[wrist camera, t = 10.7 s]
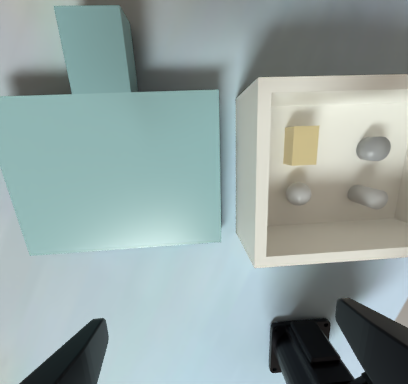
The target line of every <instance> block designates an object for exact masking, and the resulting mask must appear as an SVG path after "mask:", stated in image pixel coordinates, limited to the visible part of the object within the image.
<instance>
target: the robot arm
mask: <svg viewBox="0 0 408 384" xmlns="http://www.w3.org/2000/svg"><path fill="white" fill-rule="evenodd" d="M335 317H336V321H337V323H338V325H339V327H340V329H341V331H342V332H343V334H344V336H345V338H346V339H347V341H348V343H349V345H350V346H351V348H352V350H353V352H354V354H355V355H356V357H357V359H358V360H359V362H360V364H361V365H362V367H363V369H364V370H365V372H364V373H362V374H361V376H360V377H358V378H356V379H354V377H353V376H352V374H351V373H350V372H349V370H348V369H347V367H346V366H345V364H344V363H343V362H342V360H341V359H340V356H339V354H338V353H337V351H336V350H335V349H334V347H333V346H332V344H331V343H330V341H329V333H330V322H329V321H328V320H327V319H326V318H322V319H311V320H300V321H288V322H277V323H273V324H272V325H271V330H270V353H269V368H270V371H271V372H272V373H279V372H282V374H283V376H284V379H285V381H286V384H408V328H407V327H405V326H403V325H401V324H399V323H397V322H395V321H393V320H391V319H390V318H388V317H386V316H384V315H382V314H380V313H378V312H376V311H374V310H372V309H370V308H368V307H366V306H364V305H362V304H360V303H358V302H356V301H354V300H352V299H350V298H340V299H338V301H337V306H336V314H335ZM107 344H108V330H107V325H106V320H105V319H104V318H99V319H93V320H91V321H90V322H89V323H88V324H87V325H86V326H84V327H83V328H82V329H81V330H80V331H79V332H78V333H77V334H75V335H74V336H73V337H72V338H71V339H70V340H69V341H67V342H66V343H65V344H64V345H63V346H62V347H61V348H59V349H58V350H57V351H56V352H55V353H54V354H53V355H51V356H50V357H49V358H48V359H47V360H46V361H45V362H43V363H42V364H41V365H40V366H39V367H38V368H37V369H35V370H34V371H33V372H32V373H31V374H30V375H29V376H27V377H26V378H25V379H24V380H23V381H22V382H21V383H20V384H97V382H98V378H99V374H100V371H101V367H102V363H103V359H104V356H105V352H106V348H107Z"/></svg>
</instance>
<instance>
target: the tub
mask: <svg viewBox="0 0 408 384" xmlns="http://www.w3.org/2000/svg"><path fill="white" fill-rule="evenodd" d="M236 233H237V235H238V237H239V239H240V241H241V243H242V245H243V247H244V249H245V251H246V253H247V255H248V257H249V259H250V261H251V262H252V264H253V266H254V268H264V267H278V266H292V265H306V264H319V263H333V262H347V261H361V260H375V259H388V258H402V257H408V74H390V75H343V76H297V77H258V78H257V79H256V80H255V81H254V82H253V83H252V84H251V85H250V86H249V87H248V88H247V89H245V90H244V91H243V92H242V93H241V94H240V95H239V96H238V97H237V98H236Z"/></svg>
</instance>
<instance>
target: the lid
mask: <svg viewBox="0 0 408 384" xmlns="http://www.w3.org/2000/svg"><path fill="white" fill-rule="evenodd" d="M54 10H55V15H56V20H57V25H58V29H59V34H60V39H61V44H62V49H63V53H64V58H65V63H66V68H67V73H68V77H69V82H70V87H71V92H72V94H61V95H30V96H0V167H1V170H2V173H3V176H4V179H5V182H6V185H7V188H8V191H9V194H10V197H11V200H12V203H13V206H14V209H15V212H16V215H17V218H18V221H19V224H20V227H21V230H22V233H23V236H24V239H25V242H26V245H27V248H28V251H29V254H30V256H34V255H48V254H62V253H76V252H90V251H103V250H117V249H131V248H145V247H159V246H173V245H187V244H201V243H215V242H221V196H220V135H219V90H187V91H156V92H138V86H137V77H136V69H135V61H134V53H133V44H132V36H131V28H130V23H129V21H128V19H127V18H126V16H125V14H124V12H123V11H122V9H121V7H120V5H95V6H54Z"/></svg>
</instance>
